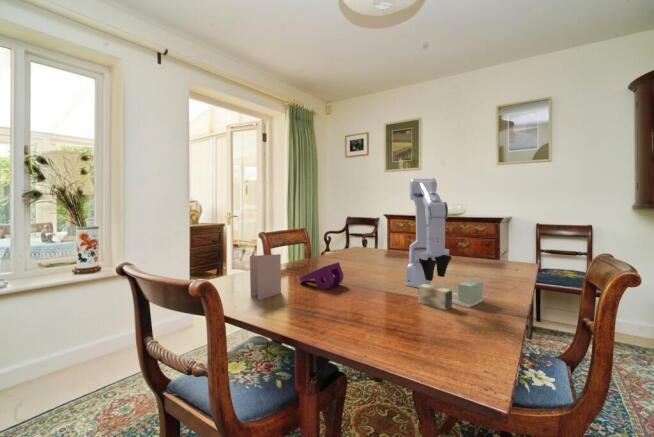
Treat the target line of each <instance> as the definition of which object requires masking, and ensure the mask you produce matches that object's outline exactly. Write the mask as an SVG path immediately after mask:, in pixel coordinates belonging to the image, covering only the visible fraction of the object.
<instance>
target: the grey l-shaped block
mask: <svg viewBox="0 0 654 437" xmlns="http://www.w3.org/2000/svg"><path fill="white" fill-rule="evenodd" d="M434 285H435V286H437V287H441V288H446V289H450V290H452V305H453V304H454V305H458V306H463V307H466V308H471V307H473V306H475V305H477V304H479V303H482V302H483V281H481V280H477V279H476V280H475V279H469V280H465V281H463V282H460V283H458V287H454V286H449V285H444V284H441V283H440V284H439V283H434Z"/></svg>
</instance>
